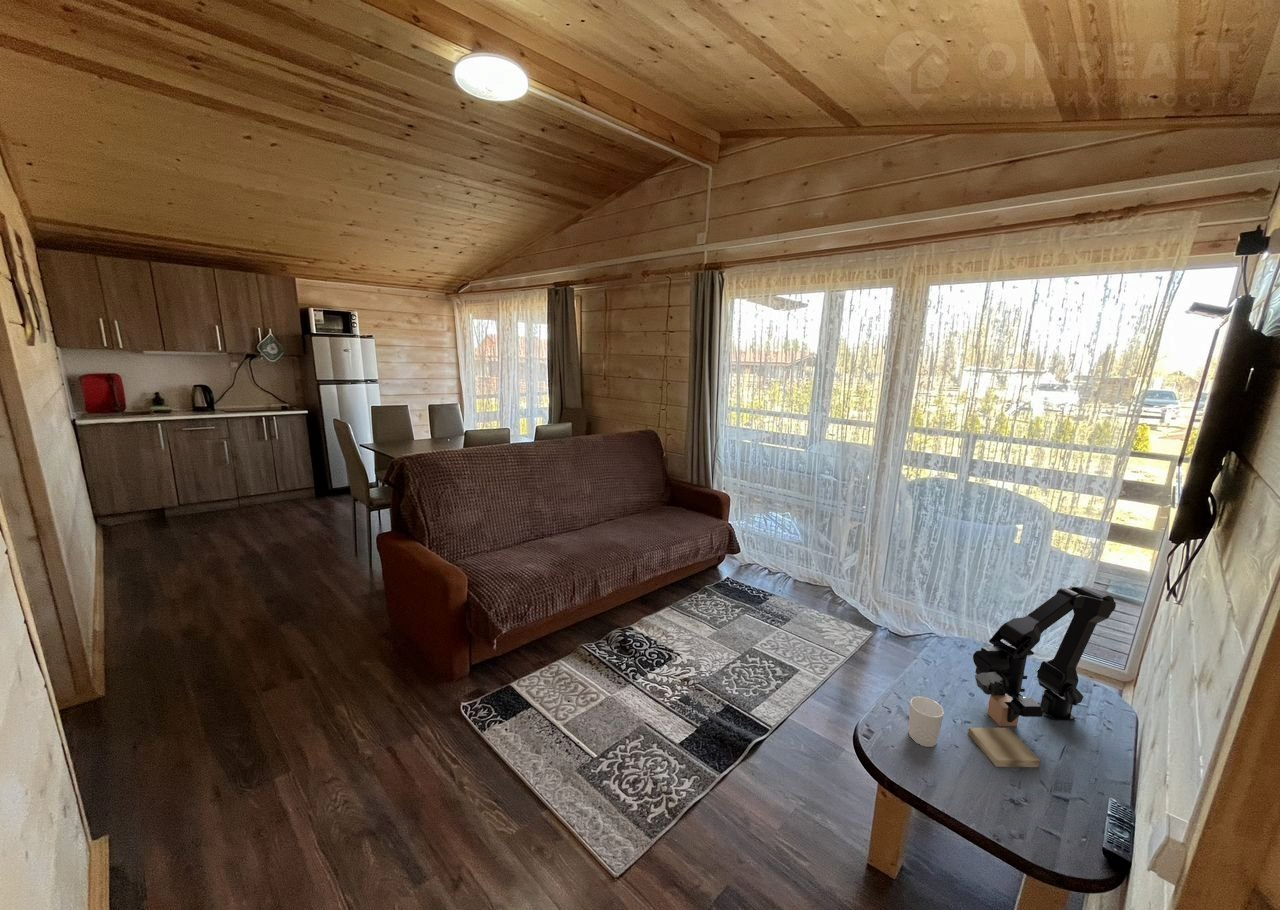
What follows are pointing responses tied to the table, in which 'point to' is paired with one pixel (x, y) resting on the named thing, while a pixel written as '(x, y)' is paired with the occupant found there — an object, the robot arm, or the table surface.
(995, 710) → the block
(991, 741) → the base slab
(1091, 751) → the table surface
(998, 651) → the robot arm
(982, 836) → the table surface
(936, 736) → the white cup
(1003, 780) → the table surface
